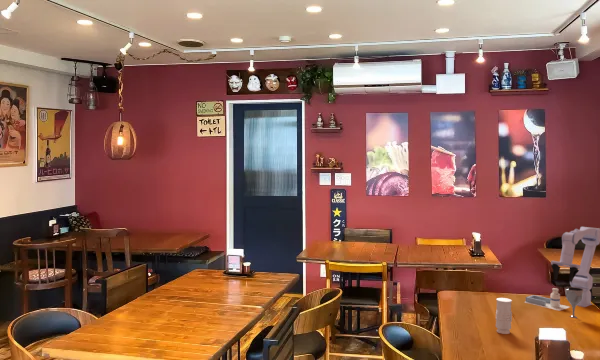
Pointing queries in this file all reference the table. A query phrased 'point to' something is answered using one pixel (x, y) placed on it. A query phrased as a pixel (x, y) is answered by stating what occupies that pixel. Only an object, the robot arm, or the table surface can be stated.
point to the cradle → (543, 302)
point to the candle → (503, 315)
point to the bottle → (555, 298)
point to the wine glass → (573, 297)
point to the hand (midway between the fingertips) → (562, 280)
